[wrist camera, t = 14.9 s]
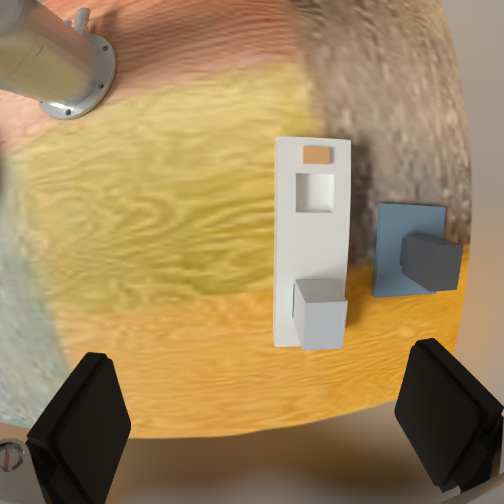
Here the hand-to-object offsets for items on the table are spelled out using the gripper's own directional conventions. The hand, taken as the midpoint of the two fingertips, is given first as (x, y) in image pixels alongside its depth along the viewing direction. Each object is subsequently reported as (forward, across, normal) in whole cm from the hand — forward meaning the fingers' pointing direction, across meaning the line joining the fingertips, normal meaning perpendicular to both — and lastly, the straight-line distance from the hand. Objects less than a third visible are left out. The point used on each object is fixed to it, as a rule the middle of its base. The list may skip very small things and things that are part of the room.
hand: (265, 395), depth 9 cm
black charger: (+28, -21, +3) cm, 35 cm away
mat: (+29, -21, +3) cm, 36 cm away
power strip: (+29, -7, +2) cm, 30 cm away
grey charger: (+27, -7, +8) cm, 29 cm away
